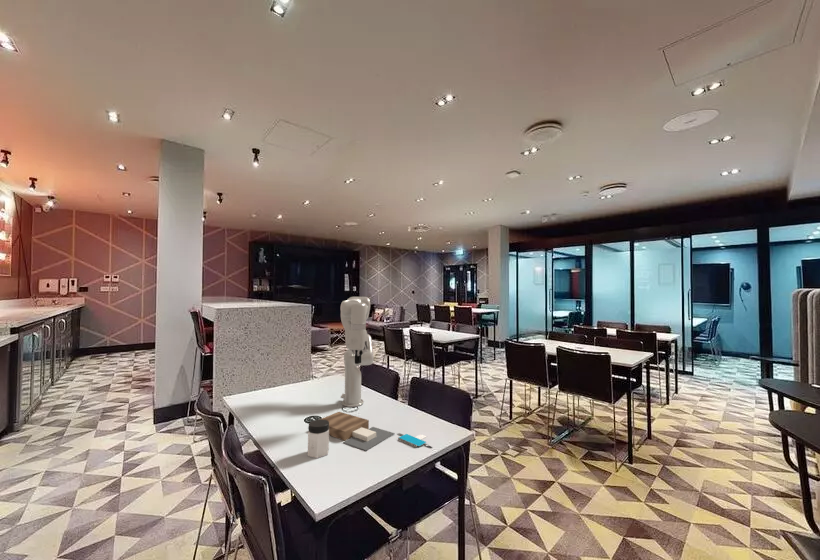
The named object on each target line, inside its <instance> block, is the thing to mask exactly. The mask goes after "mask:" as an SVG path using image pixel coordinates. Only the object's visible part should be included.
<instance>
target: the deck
mask: <svg viewBox="0 0 820 560" xmlns="http://www.w3.org/2000/svg"><path fill="white" fill-rule="evenodd" d="M320 419H323V420H327V421H329V437H330V436H331V437H334V438H336V439H339V440H341V441H343V442H345V441H346V440H348V439H350V438H352V437H353V436H352V432H353V431H355V430H357V429H359V428H361V427H362V428H365V429H370V427H369V426H370V425H369V424H370V423H369V422H370V421H369V419H366V418H363V417H359V416H356V415H351V414H349V413H345V412H342V411H337V412H334V413H331V414H330V415H326V416H324V417H322V418H319V419H318V420H320Z"/></svg>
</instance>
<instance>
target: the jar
mask: <svg viewBox="0 0 820 560" xmlns="http://www.w3.org/2000/svg"><path fill="white" fill-rule="evenodd" d="M319 419H320V420H319ZM319 419H315V420H312V421H310V422H309V423H308V427H307V429H308V433H307V457H309V458H310V457H311V458H315V459H319V458H323V457H324V456H328V455H329V450H330V435H329V421H327V420H323V419H322V418H319Z"/></svg>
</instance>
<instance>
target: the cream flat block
mask: <svg viewBox="0 0 820 560" xmlns="http://www.w3.org/2000/svg"><path fill="white" fill-rule="evenodd" d="M352 436H353V437H356V438H359V439H362V440H365V441H369V440H371V439H373V438H375V437H376V432H374V431H371V430H368V429H365V428H362V427H361V428H359V429H357V430H355V431H353V432H352Z"/></svg>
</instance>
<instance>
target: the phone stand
mask: <svg viewBox="0 0 820 560" xmlns="http://www.w3.org/2000/svg"><path fill="white" fill-rule="evenodd" d="M397 435H398V436H399V437H398V439H397V440H398V441H400V442H402V443H404V444H407V445H408V446H411V447H413V448H417V447H418V448H420V447H423V445H424V447H426V445H428V444H427V441H425V440H424V439H426V438H427V437H428V436H426V435H424V434H422V433H421V434H418V435H417V436H413V435H411V434H407V433H405V434H403V433H400V432H399V433H397Z"/></svg>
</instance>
